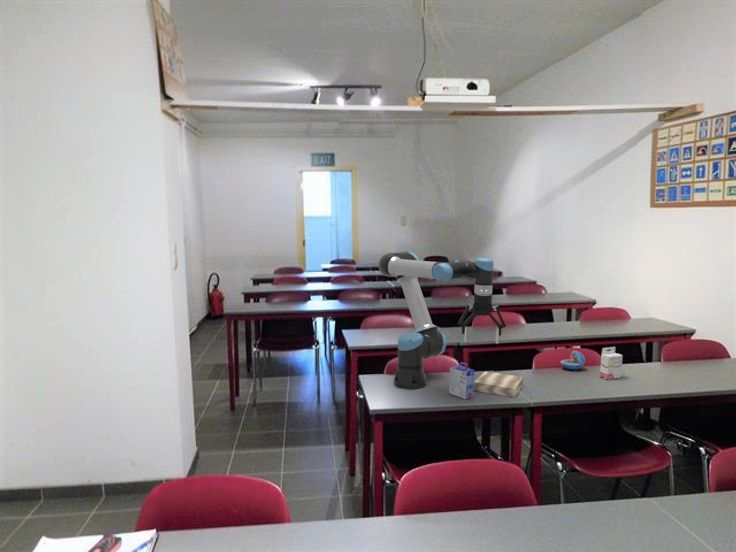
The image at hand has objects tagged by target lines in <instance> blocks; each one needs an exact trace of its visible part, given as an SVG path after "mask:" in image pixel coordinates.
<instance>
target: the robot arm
mask: <svg viewBox="0 0 736 552" xmlns="http://www.w3.org/2000/svg"><path fill="white" fill-rule="evenodd" d="M378 261H379V262H378V269H379V272H380V273H381V274H382V275H383V276H384V277H385V276H386V277H391V278H393V277H394V278H395V279H396V283H399V284H400V286H401V289H402V291H403V295H404V297H405V301H406V303H407V306H408V310H409V312H410V316H411V319H412V322H413V325H414V328H415V330H414V332H407V333H404V334H402V335H400V336H399V338H398V339H397V369H396V372H395V375H394V379H393V384H394V386H396V387H398V388H400V389H405V390H417V389H423V388H424V387H426V386H427V378H426V375H425V371H424V368H423V367H424V366H423V365H424V364H423V363H424V360H426V359H430V358H435V357H438V356H440V355H442V354H443V353H444V352H445V350H446V347H447V338H446V336H445V334H444V333H443V332H442V331H440V330H438V326H437V325H435V324H433V321H432V318H431V315H430V312H429V310H428V306H427V304H426V300H425V298H424V295H423V292H422V289H421V285H420V283H419V279H418V278H424V279H432V280H433V279H434V280H436V281H438V282H447V281H453V280H461V279H467V280H468V279H470V280H474V292H473V293H474V294H473V295H474V296H473V305H472V304H469V303H467V304H466V305H465V309H464V311H463V312H462V314H461V317H460V318H459V320H458V322H457V325H458V327H459V326H460V327H461V334H462V335H464V336H463V341H464V343H466V342H467V333H468V332H467V331H468V330H467V329H468V328H467V325H468V324H469V323H470V322H471V321H472V320H473V319H474V318H475V317H476V316H477V315H478V316H480V317H481V316H482V317H483V316H484V317H487V316H488V317H489V318H490V319H491V320H492V322H493V323H494V324H495V325H496V327H495V328H496V329H495V344H497V345H498V344H499V337H500V336H501V335H502V330H503V328H506V327H507V325H506V323H505V321H504V318H503V316H502V315H501V312H500V307H499V305H492V303H493V295H492V294H493V280H494V279H493V278H494V271H495V269H494V260H493V259H492V258H490V257H489V258H487V257H486V258H485V257H477V258H476V259H475V261H468V260H462V259H461V260H454V262H441V261H440V262H439V261H428V260H427V261H426V260H420V258H419V257H418V255H416V254H415V253H413V252H410V251H402V252H388V253H386V254H383V255H382V256H381V257H380V259H379V260H378ZM471 310H473V312H471V314H470V315H469V316H468V317H467V315H468V314H469V312H470V311H471ZM492 310H494V311H495V312H496V314H497V317H498V319H499V321H500V323H501V324H500V323H499V322H498V320H497V319H496V317H494V315H493V314H492V313H491V312H492ZM466 317H467V318H466Z"/></svg>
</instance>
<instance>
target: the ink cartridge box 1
mask: <svg viewBox="0 0 736 552" xmlns="http://www.w3.org/2000/svg"><path fill="white" fill-rule="evenodd" d="M467 366H468V363H467V362H463V361H461V362H460V364H459V365H454V366H451V367H449V390H448V391H449V392H448V393H449V394H450V395H452V396H455V397H459V398H460V399H464V400H468V399H471V398H474V392H475V391H474V382H475V370H474V369H472V368H468V367H467Z"/></svg>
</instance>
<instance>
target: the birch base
mask: <svg viewBox="0 0 736 552" xmlns="http://www.w3.org/2000/svg"><path fill="white" fill-rule="evenodd" d="M523 386H524V376H518V375H512V374H506V373H505V374H504V373H499V372H498V373H497V372H492V371H491V372H490V371H484V372H482V374H481V375H480V376H479V377H478V378H477V379H475V380H474V392H479V393H483V394H490V395H496V396H503V397H509V398H515V397H516V396H517V395H518V393H519V392H520V390H521V389H522V388H523Z"/></svg>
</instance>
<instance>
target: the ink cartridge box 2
mask: <svg viewBox="0 0 736 552" xmlns="http://www.w3.org/2000/svg"><path fill="white" fill-rule="evenodd" d="M622 368H623V354H621V353H616V347H615V346H610V347H602V349H601V355H600V375H599V377H600V378H601V377H603V378H606V379H611V378H617V377H618V378H619V377H621V378H622V371H623V370H622ZM603 378H602V379H603ZM606 379H605V380H606Z"/></svg>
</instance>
